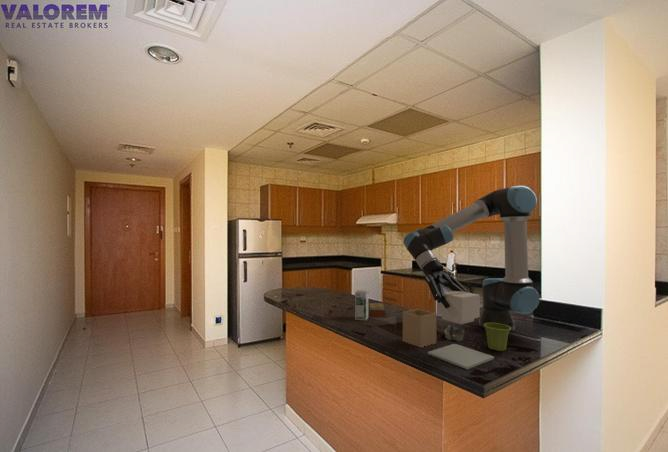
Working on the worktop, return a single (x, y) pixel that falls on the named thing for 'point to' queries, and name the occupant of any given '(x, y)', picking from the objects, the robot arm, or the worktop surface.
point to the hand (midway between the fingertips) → (465, 313)
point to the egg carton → (454, 333)
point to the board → (461, 356)
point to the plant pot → (497, 335)
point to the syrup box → (361, 305)
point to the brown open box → (419, 327)
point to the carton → (376, 310)
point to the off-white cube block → (461, 307)
